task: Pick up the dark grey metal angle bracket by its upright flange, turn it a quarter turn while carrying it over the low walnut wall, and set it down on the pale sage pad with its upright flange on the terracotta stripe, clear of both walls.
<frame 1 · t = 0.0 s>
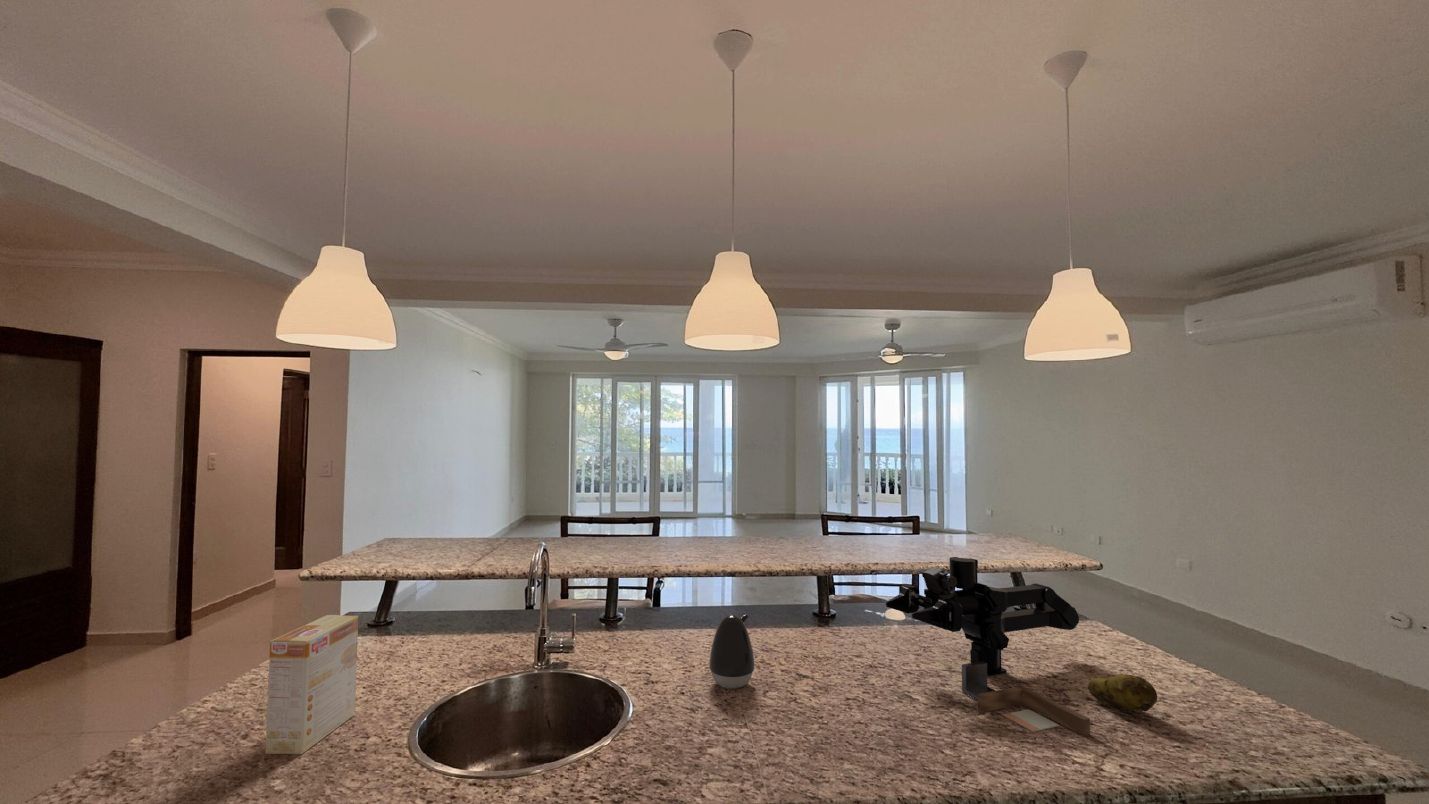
hand: (898, 609, 135), 17 cm above the kitchen island, tool horizontal, fingers open, 9 cm apart
brown angled piece: (1030, 720, 117), on the kitchen island
coffeecake box: (312, 734, 110), on the kitchen island
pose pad: (1030, 720, 117), on the kitchen island
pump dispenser: (732, 684, 133), on the kitchen island
bracket: (983, 696, 128), on the kitchen island
potato: (1122, 711, 122), on the kitchen island
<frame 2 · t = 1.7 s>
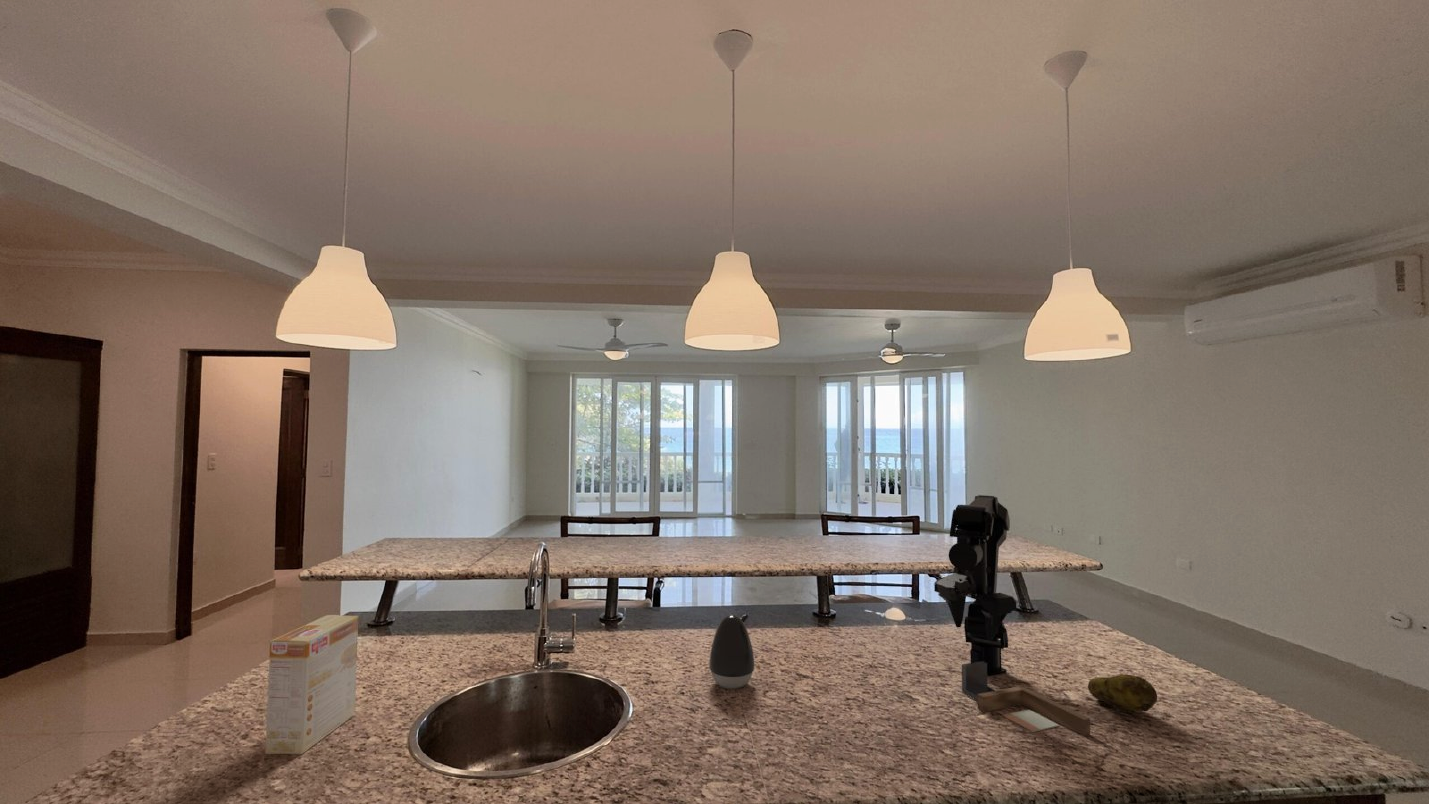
hand: (973, 633, 131), 12 cm above the kitchen island, tool pointing down, fingers open, 9 cm apart
nothing on the kitchen island moved.
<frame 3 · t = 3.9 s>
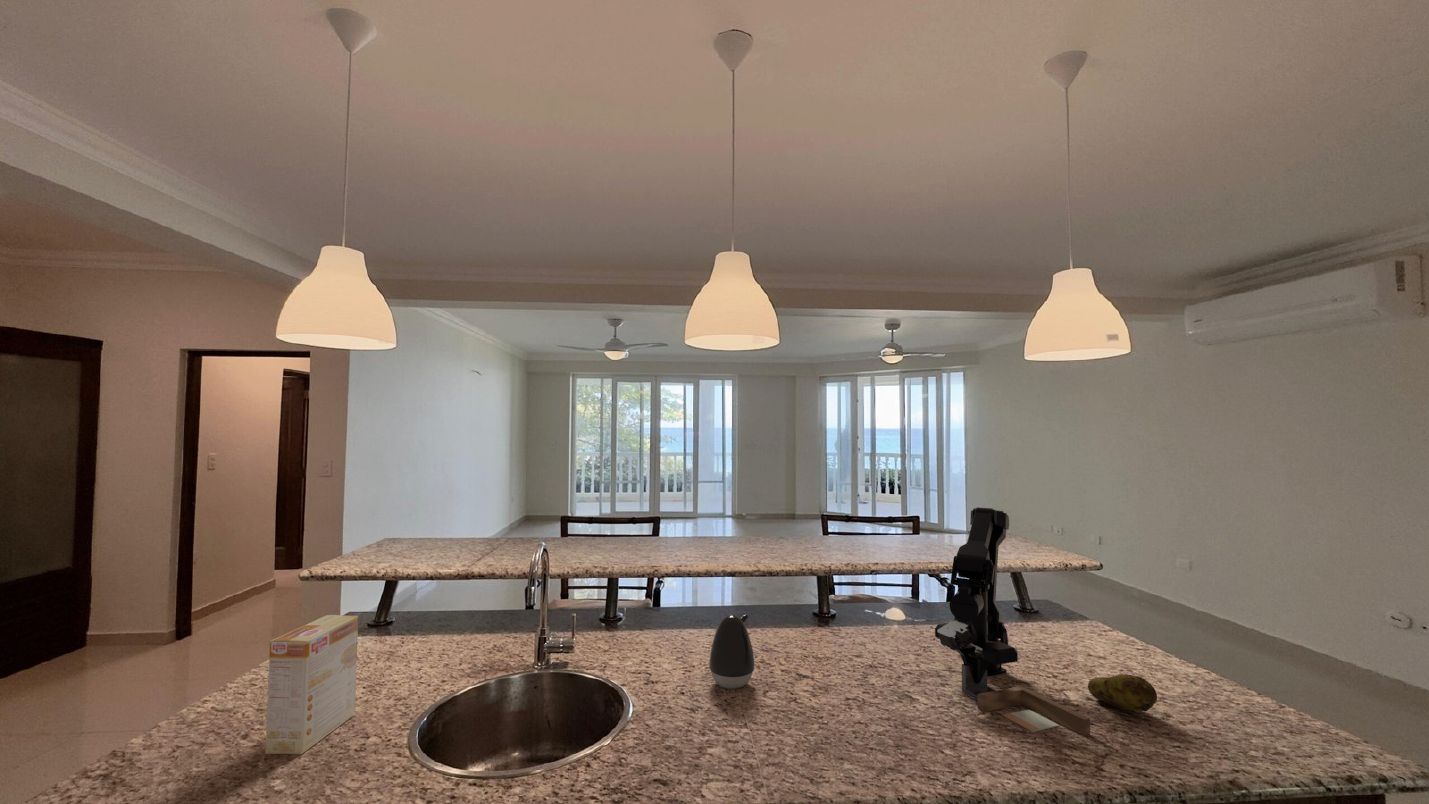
hand: (974, 681, 131), 2 cm above the kitchen island, tool pointing down, fingers closed on bracket
bracket: (983, 695, 128), on the kitchen island, touching gripper
everything else where it was.
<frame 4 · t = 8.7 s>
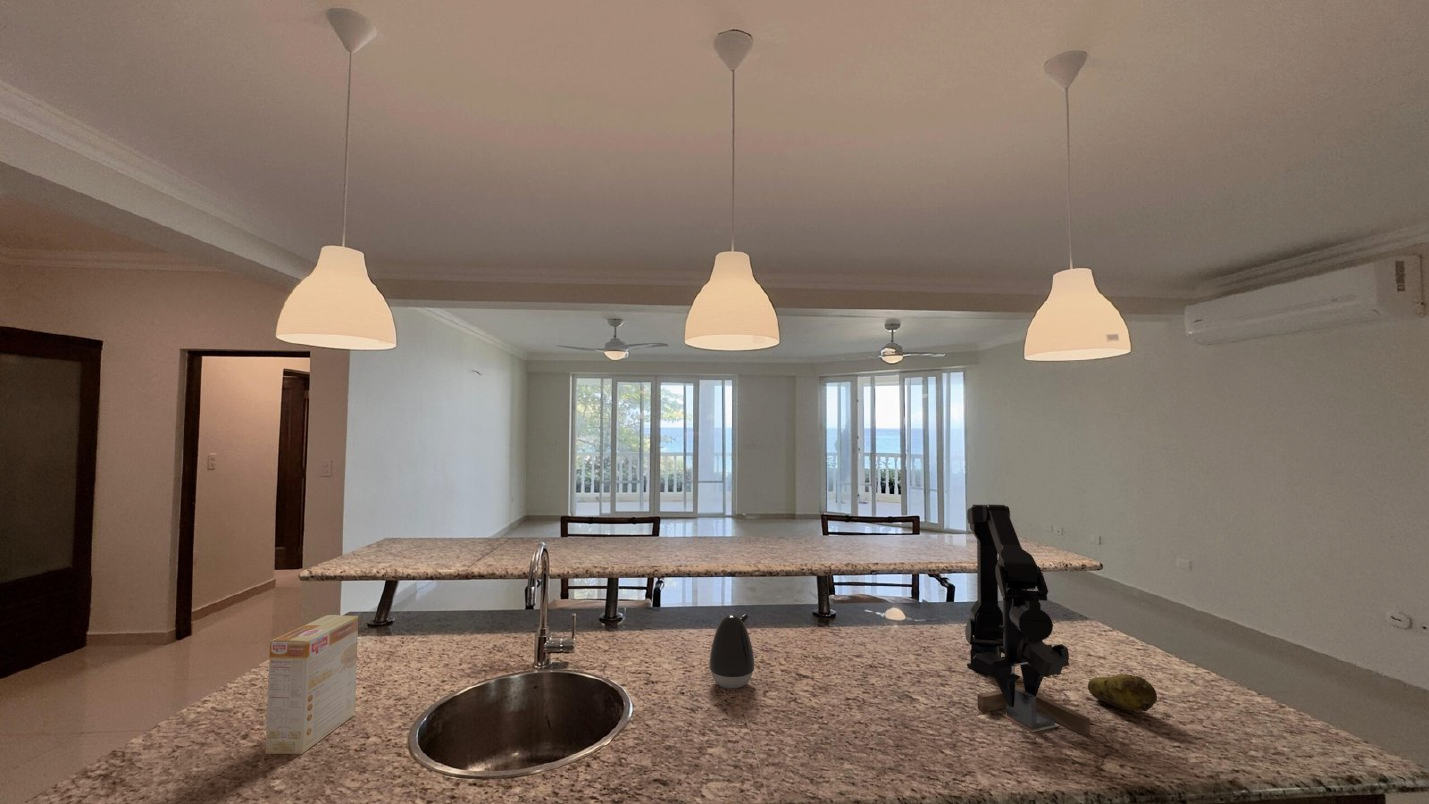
hand: (1020, 704, 116), 3 cm above the kitchen island, tool pointing down, fingers open, 5 cm apart
bracket: (1030, 720, 117), resting on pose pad
everything else where it was.
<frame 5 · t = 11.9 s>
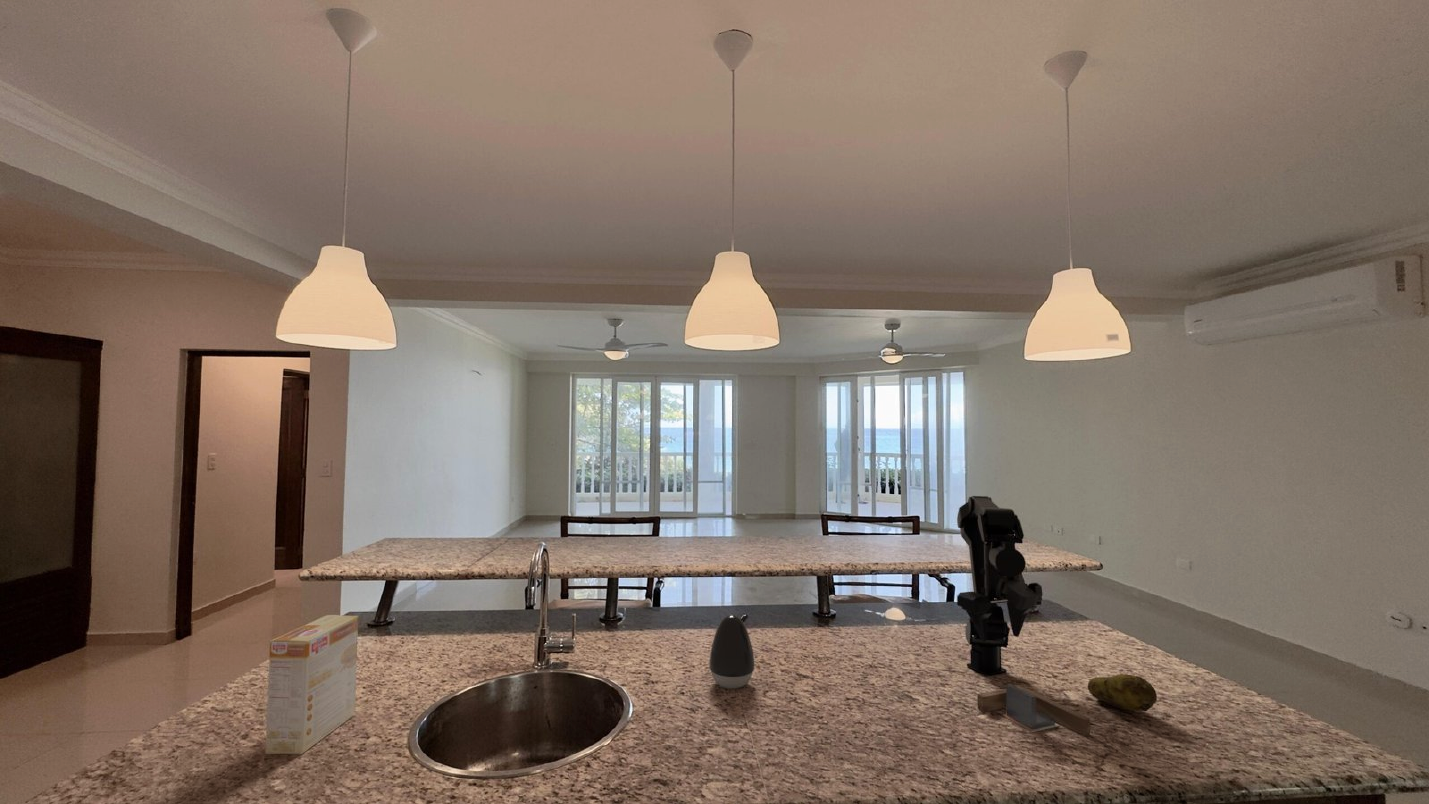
hand: (1000, 638, 129), 12 cm above the kitchen island, tool pointing down, fingers open, 9 cm apart
nothing on the kitchen island moved.
at the end: bracket 0.1 cm off-centre on the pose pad, point 0.2 cm above the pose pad's base; bracket tilted 0°; bracket touching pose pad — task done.
